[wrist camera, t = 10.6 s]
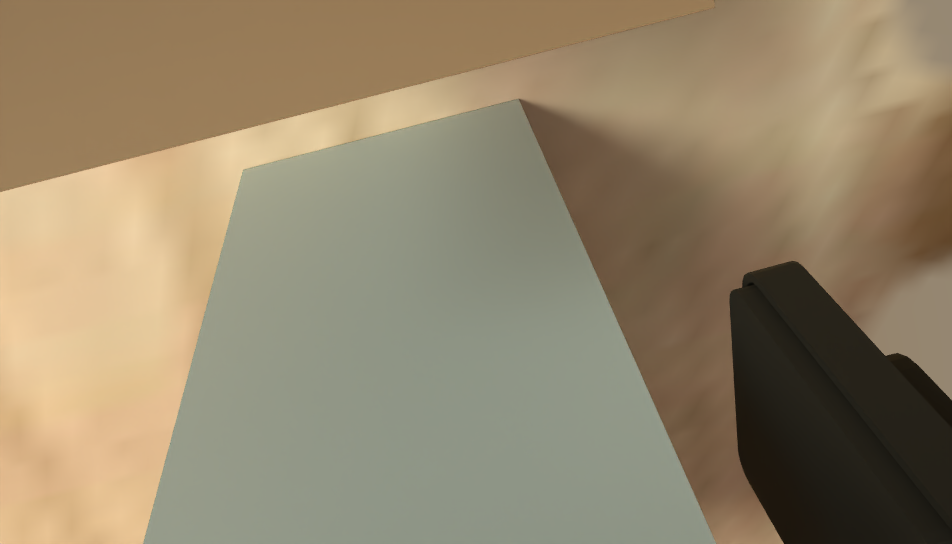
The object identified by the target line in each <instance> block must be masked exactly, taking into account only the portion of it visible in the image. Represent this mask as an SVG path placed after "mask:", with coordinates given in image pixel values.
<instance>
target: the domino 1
mask: <svg viewBox="0 0 952 544" xmlns="http://www.w3.org/2000/svg"><path fill="white" fill-rule="evenodd" d="M712 8H715V6H714V0H0V192H2V191H6V190H10V189H13V188H17V187H21V186H25V185H29V184H33V183H37V182H41V181H44V180H48V179H52V178H56V177H60V176H64V175H68V174H72V173H75V172H79V171H83V170H87V169H91V168H95V167H99V166H103V165H107V164H110V163H114V162H118V161H122V160H126V159H130V158H134V157H138V156H141V155H145V154H149V153H153V152H157V151H161V150H165V149H169V148H172V147H176V146H180V145H184V144H188V143H192V142H196V141H200V140H204V139H207V138H211V137H215V136H219V135H223V134H227V133H231V132H235V131H238V130H242V129H246V128H250V127H254V126H258V125H262V124H266V123H269V122H273V121H277V120H281V119H285V118H289V117H293V116H297V115H301V114H304V113H308V112H312V111H316V110H320V109H324V108H328V107H332V106H335V105H339V104H343V103H347V102H351V101H355V100H359V99H363V98H366V97H370V96H374V95H378V94H382V93H386V92H390V91H394V90H398V89H401V88H405V87H409V86H413V85H417V84H421V83H425V82H429V81H432V80H436V79H440V78H444V77H448V76H452V75H456V74H460V73H463V72H467V71H471V70H475V69H479V68H483V67H487V66H491V65H495V64H498V63H502V62H506V61H510V60H514V59H518V58H522V57H526V56H529V55H533V54H537V53H541V52H545V51H549V50H553V49H557V48H560V47H564V46H568V45H572V44H576V43H580V42H584V41H588V40H592V39H595V38H599V37H603V36H607V35H611V34H615V33H619V32H623V31H626V30H630V29H634V28H638V27H642V26H646V25H650V24H654V23H657V22H661V21H665V20H669V19H673V18H677V17H681V16H685V15H689V14H692V13H696V12H700V11H704V10H708V9H712Z"/></svg>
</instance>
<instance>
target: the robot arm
mask: <svg viewBox="0 0 952 544" xmlns="http://www.w3.org/2000/svg"><path fill="white" fill-rule="evenodd" d="M730 317H731V335H732V353H733V370H734V388H735V405H736V423H737V440H738V453H739V458H740V462H741V465H742V468H743V470H744V473H745V475H746V477H747V479H748V481H749V483H750V485H751V487H752V488H753V490H754V492H755V494H756V495H757V497H758V499H759V501H760V502H761V504H762V506H763V508H764V509H765V511H766V513H767V515H768V516H769V518H770V520H771V522H772V523H773V525H774V527H775V529H776V530H777V532H778V534H779V536H780V537H781V539H782V541H783V543H784V544H952V400H951V399H950V398H949V397H948V396H947V395H946V394H945V393H944V392H943V391H942V390H941V389H940V388H939V387H938V386H937V385H936V384H935V383H934V381H933V380H932V379H931V378H930V377H929V376H928V375H927V374H926V373H925V372H924V371H923V370H922V369H921V368H920V367H919V366H918V365H917V364H916V363H914V362H913V361H912V360H911V359H910V358H908V357H907V356H904V355H901V354H899V353H896V354H891V355H887V356H885V355H884V354H883V353H882V352H881V351H880V350H879V349H878V348H877V347H876V345H875V344H874V343H873V342H872V341H871V340H870V339H869V338H868V337H867V336H866V334H865V333H864V332H863V331H862V330H861V329H860V328H859V327H858V326H857V325H856V324H855V323H854V321H853V320H852V319H851V318H850V317H849V316H848V315H847V314H846V313H845V312H844V311H843V310H842V308H841V307H840V306H839V305H838V304H837V303H836V302H835V301H834V300H833V299H832V298H831V296H830V295H829V294H828V293H827V292H826V291H825V290H824V289H823V288H822V287H821V286H820V285H819V283H818V282H817V281H816V280H815V279H814V278H813V277H812V276H811V275H810V274H809V273H808V271H807V270H806V269H805V268H804V267H803V266H802V265H800V264H799V263H798V262H795V261H791V262H787V263H783V264H779V265H776V266H772V267H768V268H765V269H761V270H757V271H753V272H750V273H747V274H746V275H744V278H743V283H742V288H739V289H735V290H733V291H731V293H730Z"/></svg>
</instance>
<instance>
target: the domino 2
mask: <svg viewBox="0 0 952 544" xmlns="http://www.w3.org/2000/svg"><path fill="white" fill-rule="evenodd" d="M143 544H716V542H715V540H714V537H713V535H712V533H711V531H710V528H709V526H708V524H707V522H706V519H705V517H704V515H703V513H702V510H701V508H700V506H699V504H698V501H697V499H696V497H695V495H694V492H693V490H692V488H691V486H690V483H689V481H688V479H687V477H686V474H685V472H684V470H683V468H682V465H681V463H680V461H679V459H678V456H677V454H676V452H675V450H674V447H673V445H672V443H671V441H670V438H669V436H668V434H667V432H666V429H665V427H664V425H663V423H662V420H661V418H660V416H659V414H658V411H657V409H656V407H655V405H654V402H653V400H652V398H651V396H650V393H649V391H648V389H647V387H646V384H645V382H644V380H643V378H642V375H641V373H640V371H639V369H638V366H637V364H636V362H635V360H634V357H633V355H632V353H631V351H630V348H629V346H628V344H627V342H626V339H625V337H624V335H623V333H622V330H621V328H620V326H619V324H618V321H617V319H616V317H615V315H614V312H613V310H612V308H611V306H610V303H609V301H608V299H607V297H606V294H605V292H604V290H603V288H602V285H601V283H600V281H599V279H598V276H597V274H596V272H595V270H594V267H593V265H592V263H591V261H590V258H589V256H588V254H587V252H586V249H585V247H584V245H583V243H582V240H581V238H580V236H579V234H578V231H577V229H576V227H575V225H574V222H573V220H572V218H571V216H570V213H569V211H568V209H567V207H566V204H565V202H564V200H563V198H562V195H561V193H560V191H559V189H558V186H557V184H556V182H555V180H554V177H553V175H552V173H551V171H550V168H549V166H548V164H547V162H546V159H545V157H544V155H543V153H542V150H541V148H540V146H539V144H538V141H537V139H536V137H535V135H534V132H533V130H532V128H531V126H530V123H529V121H528V119H527V117H526V114H525V112H524V110H523V108H522V105H521V103H520V101H519V99H516V100H512V101H509V102H505V103H501V104H497V105H493V106H489V107H485V108H481V109H478V110H474V111H470V112H466V113H462V114H458V115H454V116H450V117H447V118H443V119H439V120H435V121H431V122H427V123H423V124H419V125H416V126H412V127H408V128H404V129H400V130H396V131H392V132H388V133H385V134H381V135H377V136H373V137H369V138H365V139H361V140H357V141H354V142H350V143H346V144H342V145H338V146H334V147H330V148H326V149H323V150H319V151H315V152H311V153H307V154H303V155H299V156H295V157H292V158H288V159H284V160H280V161H276V162H272V163H268V164H264V165H261V166H257V167H253V168H249V169H245V170H243V172H242V176H241V180H240V183H239V187H238V191H237V195H236V198H235V202H234V206H233V210H232V213H231V217H230V221H229V225H228V228H227V232H226V236H225V240H224V243H223V247H222V251H221V255H220V258H219V262H218V266H217V270H216V273H215V277H214V281H213V284H212V288H211V292H210V296H209V299H208V303H207V307H206V311H205V314H204V318H203V322H202V326H201V329H200V333H199V337H198V341H197V344H196V348H195V352H194V356H193V359H192V363H191V367H190V371H189V374H188V378H187V382H186V386H185V389H184V393H183V397H182V400H181V404H180V408H179V412H178V415H177V419H176V423H175V427H174V430H173V434H172V438H171V442H170V445H169V449H168V453H167V457H166V460H165V464H164V468H163V472H162V475H161V479H160V483H159V487H158V490H157V494H156V498H155V502H154V505H153V509H152V513H151V516H150V520H149V524H148V528H147V531H146V535H145V539H144V543H143Z"/></svg>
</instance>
